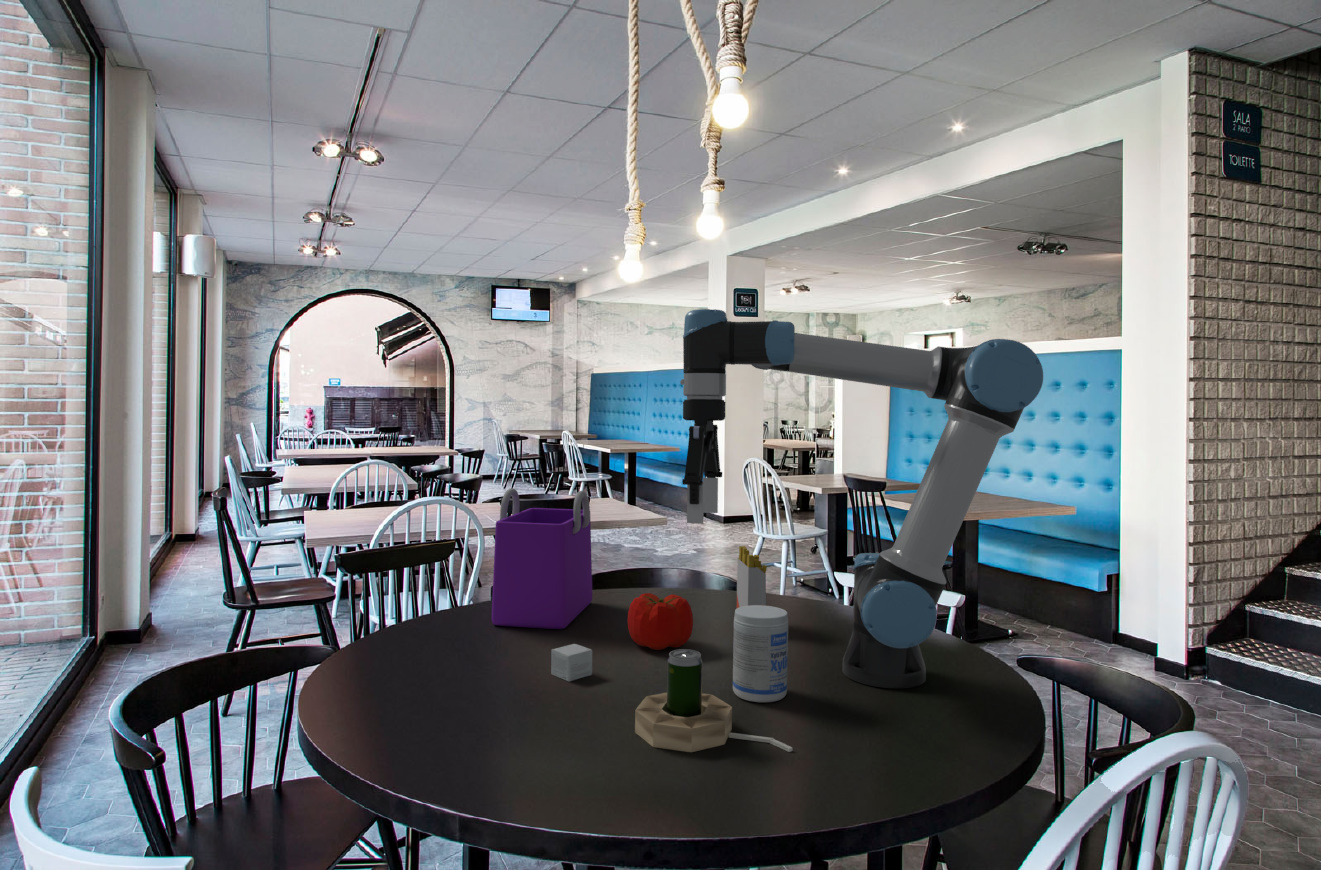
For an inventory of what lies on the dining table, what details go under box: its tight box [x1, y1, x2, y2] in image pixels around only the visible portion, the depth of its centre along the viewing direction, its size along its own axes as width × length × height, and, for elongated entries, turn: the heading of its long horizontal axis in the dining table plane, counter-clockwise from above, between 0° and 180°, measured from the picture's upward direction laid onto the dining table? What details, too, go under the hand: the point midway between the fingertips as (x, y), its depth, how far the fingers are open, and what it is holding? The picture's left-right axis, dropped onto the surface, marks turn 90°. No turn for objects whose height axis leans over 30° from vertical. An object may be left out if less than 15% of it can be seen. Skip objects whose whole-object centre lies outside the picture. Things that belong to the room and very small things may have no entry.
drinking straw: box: [728, 732, 793, 753], centre depth 116 cm, size 10×3×1 cm, turn 74°
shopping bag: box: [491, 488, 593, 630], centre depth 186 cm, size 28×22×30 cm
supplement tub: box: [732, 605, 789, 703], centre depth 136 cm, size 10×10×15 cm
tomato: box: [627, 592, 694, 651], centre depth 163 cm, size 14×13×10 cm
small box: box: [550, 643, 593, 682], centre depth 145 cm, size 6×6×5 cm
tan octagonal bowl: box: [634, 692, 733, 753], centre depth 120 cm, size 14×14×4 cm
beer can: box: [666, 648, 703, 717], centre depth 120 cm, size 5×5×12 cm
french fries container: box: [736, 545, 768, 609], centre depth 177 cm, size 5×11×18 cm, turn 7°
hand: (703, 517), depth 138 cm, fingers open, 13 cm apart
